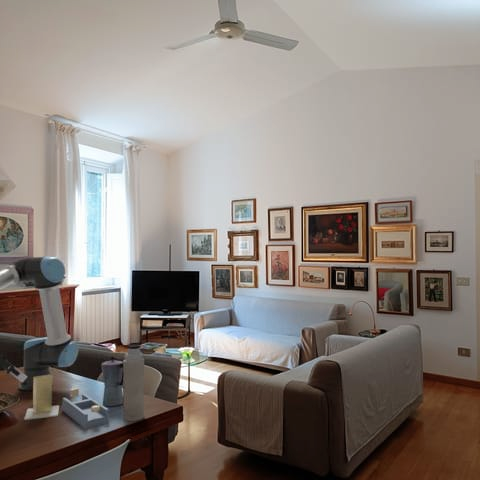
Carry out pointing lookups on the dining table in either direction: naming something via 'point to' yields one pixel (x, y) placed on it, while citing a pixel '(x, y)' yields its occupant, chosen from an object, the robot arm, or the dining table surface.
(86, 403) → the grey divided tray
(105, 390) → the moka pot
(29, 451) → the dining table surface
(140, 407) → the thermos bottle
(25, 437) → the dining table surface
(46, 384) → the tan cardboard box
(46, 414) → the white square mat
